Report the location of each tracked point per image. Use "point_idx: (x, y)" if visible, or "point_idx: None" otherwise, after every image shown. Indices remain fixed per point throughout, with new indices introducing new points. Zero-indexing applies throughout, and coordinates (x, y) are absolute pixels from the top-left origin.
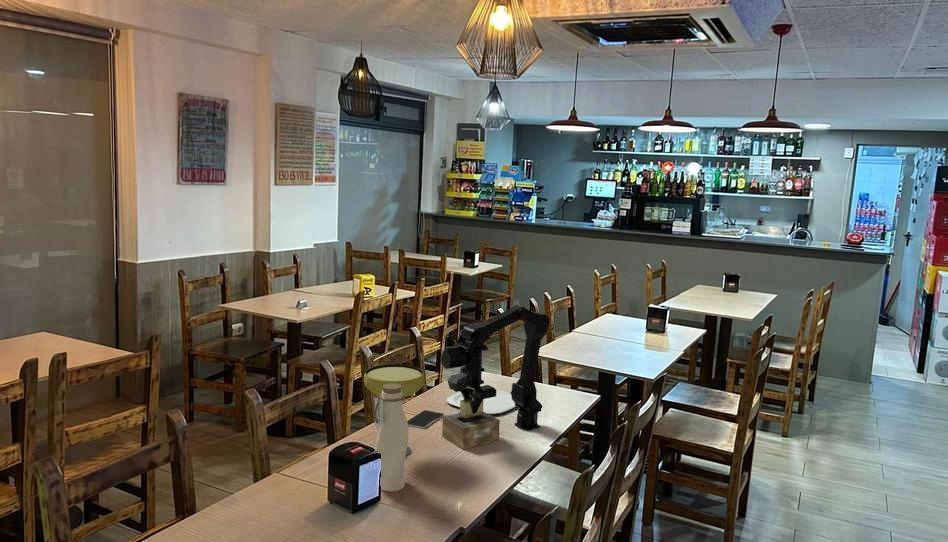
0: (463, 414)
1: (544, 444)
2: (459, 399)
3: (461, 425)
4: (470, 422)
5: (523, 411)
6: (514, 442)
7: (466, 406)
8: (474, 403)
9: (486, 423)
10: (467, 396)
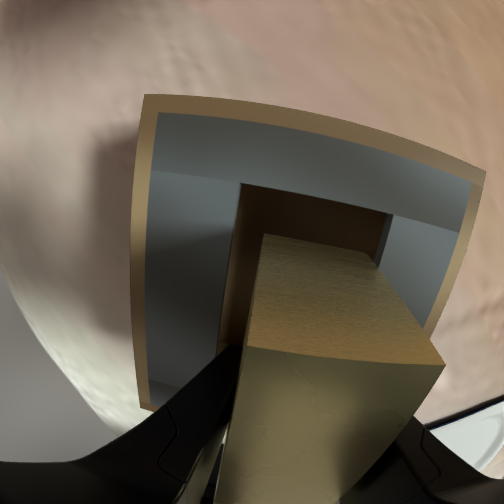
0: (302, 250)
1: (82, 391)
2: (497, 428)
3: (204, 117)
4: (209, 242)
5: (203, 497)
6: (131, 356)
7: (250, 320)
8: (146, 422)
9: (135, 326)
10: (389, 492)
